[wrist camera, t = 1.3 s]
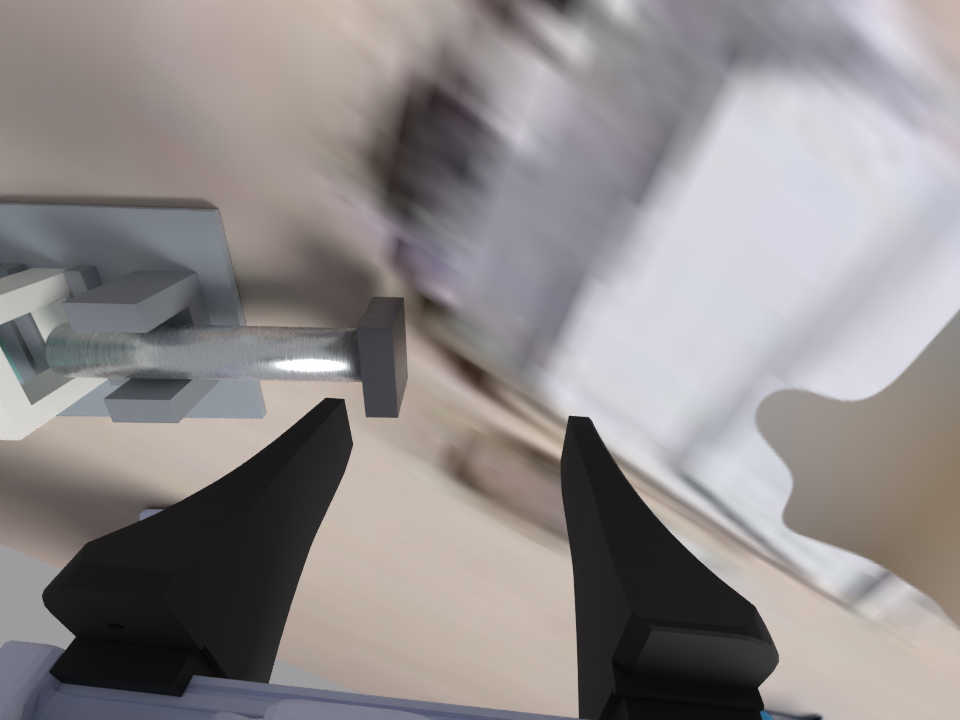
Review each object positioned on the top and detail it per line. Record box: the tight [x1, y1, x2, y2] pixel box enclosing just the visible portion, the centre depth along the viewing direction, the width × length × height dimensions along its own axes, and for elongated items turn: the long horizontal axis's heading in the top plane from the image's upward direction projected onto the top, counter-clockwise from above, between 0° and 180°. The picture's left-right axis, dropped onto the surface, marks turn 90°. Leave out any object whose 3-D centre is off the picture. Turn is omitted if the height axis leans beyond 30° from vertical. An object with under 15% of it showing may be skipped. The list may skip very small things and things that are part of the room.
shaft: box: [45, 297, 408, 418], centre depth 21 cm, size 5×16×4 cm, turn 88°
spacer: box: [0, 268, 108, 440], centre depth 21 cm, size 6×2×6 cm, turn 178°
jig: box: [0, 202, 267, 423], centre depth 21 cm, size 12×20×5 cm, turn 88°
